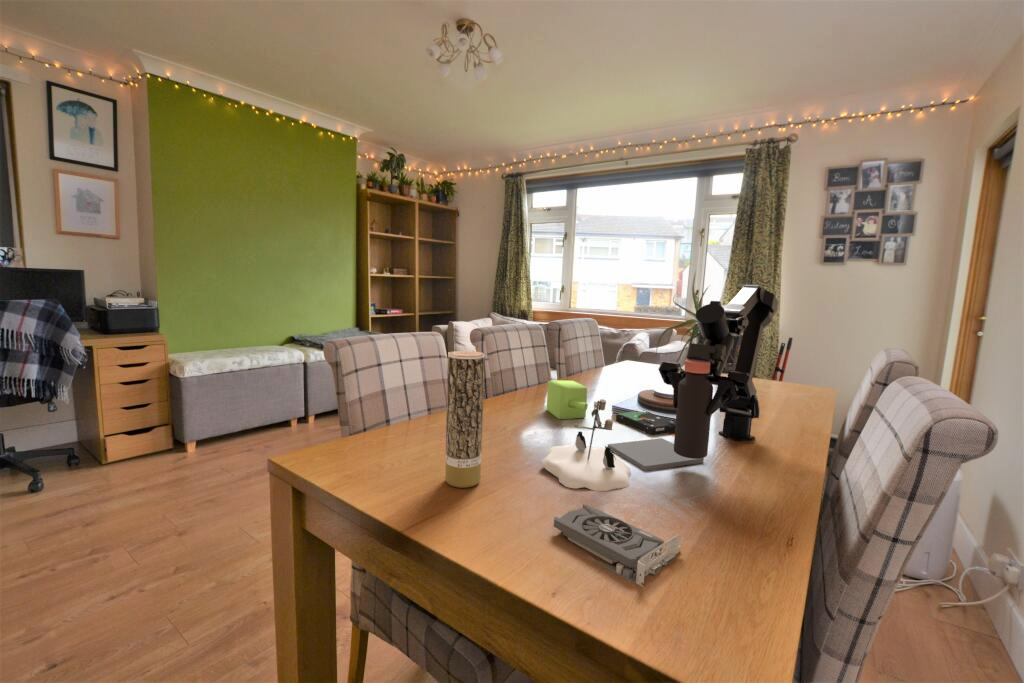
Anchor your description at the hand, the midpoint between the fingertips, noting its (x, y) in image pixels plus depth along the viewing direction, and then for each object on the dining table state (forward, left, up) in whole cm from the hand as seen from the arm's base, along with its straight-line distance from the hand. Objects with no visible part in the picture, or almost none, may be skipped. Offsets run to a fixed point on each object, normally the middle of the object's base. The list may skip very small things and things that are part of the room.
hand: (691, 410), depth 97 cm
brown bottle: (-1, -1, -10) cm, 10 cm away
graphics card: (+31, +19, -14) cm, 39 cm away
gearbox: (+3, -45, -14) cm, 47 cm away
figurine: (+20, -7, -14) cm, 26 cm away
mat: (0, -10, -13) cm, 17 cm away
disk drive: (-13, -30, -14) cm, 35 cm away
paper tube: (+46, -9, -13) cm, 49 cm away
